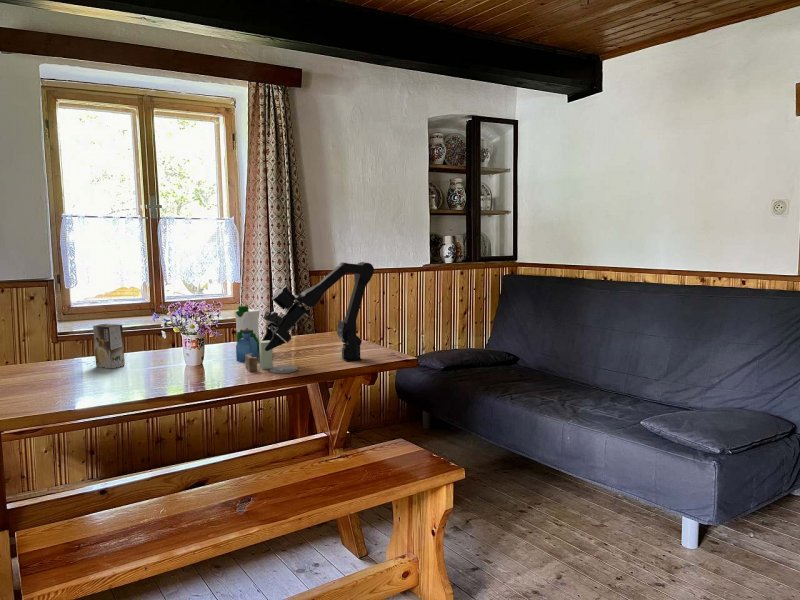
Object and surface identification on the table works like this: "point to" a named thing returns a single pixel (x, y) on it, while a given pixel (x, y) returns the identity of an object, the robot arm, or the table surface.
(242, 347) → the perfume bottle
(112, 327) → the coffee box
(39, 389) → the table surface
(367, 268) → the robot arm
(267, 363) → the sage peg
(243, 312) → the milk carton
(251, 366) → the walnut U-bracket
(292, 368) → the stoneware coaster
